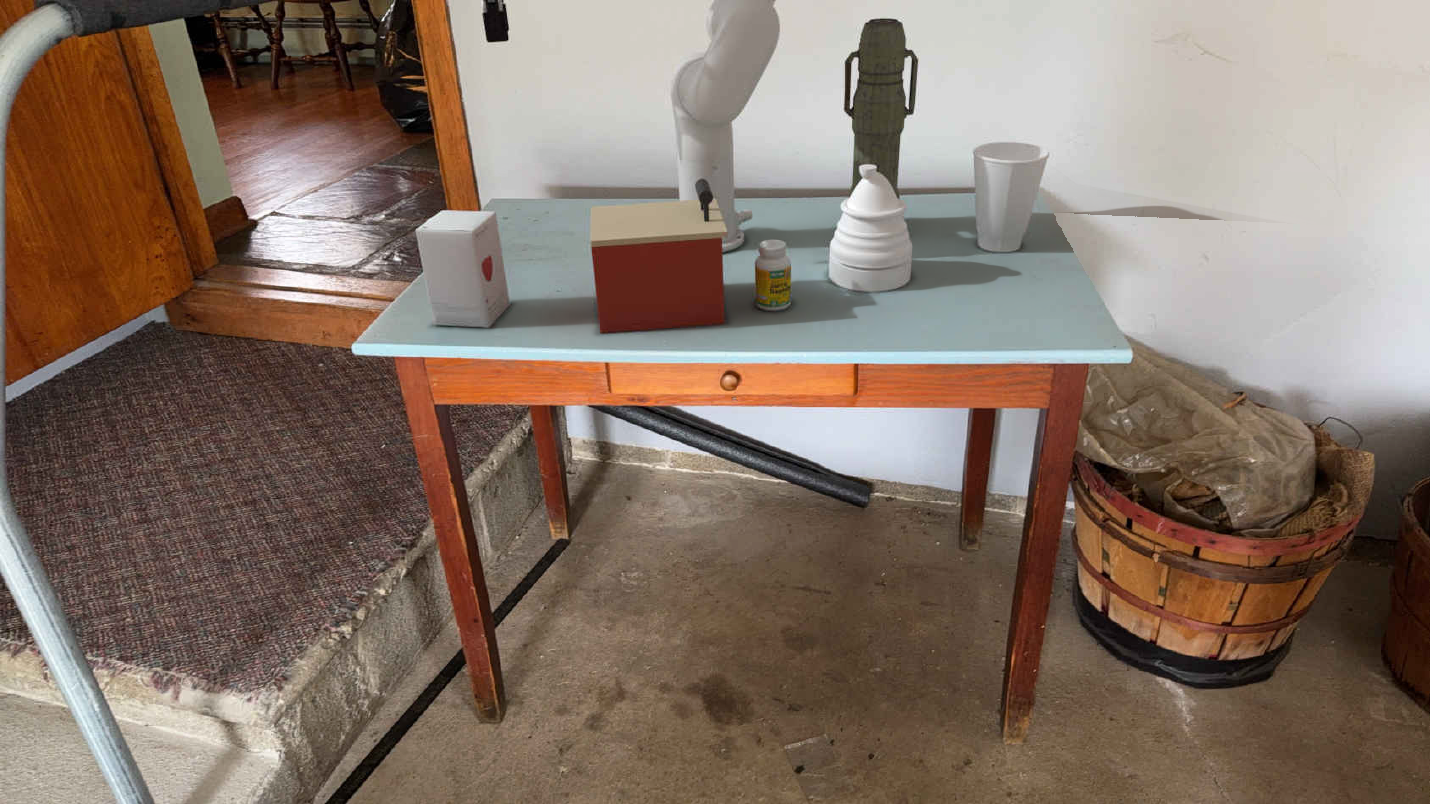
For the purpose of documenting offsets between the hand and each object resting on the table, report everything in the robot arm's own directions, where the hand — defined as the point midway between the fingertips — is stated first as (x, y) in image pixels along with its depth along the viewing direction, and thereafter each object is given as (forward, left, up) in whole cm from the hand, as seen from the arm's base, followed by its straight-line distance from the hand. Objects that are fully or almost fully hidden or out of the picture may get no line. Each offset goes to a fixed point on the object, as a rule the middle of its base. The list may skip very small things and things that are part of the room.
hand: (498, 36), depth 139 cm
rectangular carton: (+18, +10, -37) cm, 42 cm away
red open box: (-2, +30, -36) cm, 48 cm away
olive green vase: (-51, +34, -37) cm, 71 cm away
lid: (-2, +31, -23) cm, 39 cm away
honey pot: (-32, +47, -37) cm, 68 cm away
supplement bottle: (-13, +43, -37) cm, 58 cm away
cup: (-57, +56, -37) cm, 88 cm away
